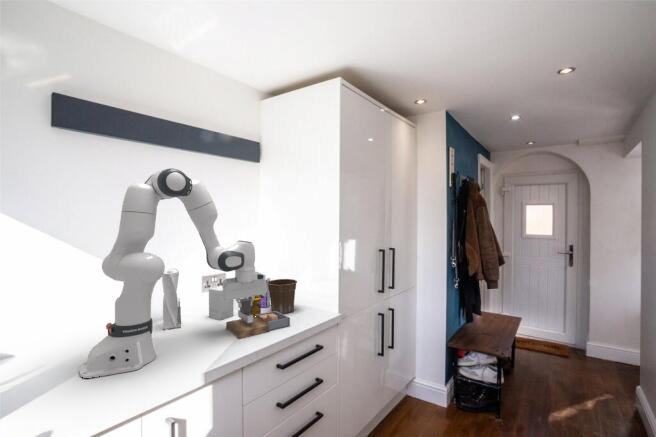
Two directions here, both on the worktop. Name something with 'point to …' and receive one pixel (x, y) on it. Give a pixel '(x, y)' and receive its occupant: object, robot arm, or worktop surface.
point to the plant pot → (282, 295)
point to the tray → (277, 321)
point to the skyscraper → (171, 300)
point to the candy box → (265, 297)
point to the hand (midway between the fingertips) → (245, 306)
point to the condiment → (256, 306)
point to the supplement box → (219, 304)
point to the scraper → (245, 311)
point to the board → (247, 327)
